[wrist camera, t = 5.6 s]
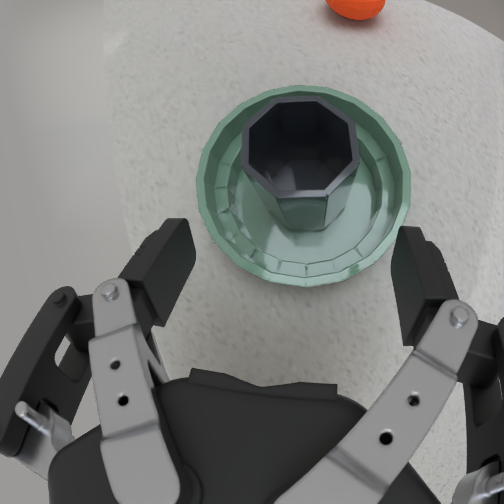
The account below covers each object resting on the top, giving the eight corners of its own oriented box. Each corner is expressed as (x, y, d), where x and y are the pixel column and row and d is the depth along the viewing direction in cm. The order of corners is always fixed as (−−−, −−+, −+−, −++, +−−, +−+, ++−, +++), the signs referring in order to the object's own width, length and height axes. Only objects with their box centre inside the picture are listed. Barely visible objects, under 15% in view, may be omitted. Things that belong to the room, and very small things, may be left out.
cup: (306, 247, 22) (302, 223, 14) (251, 195, 23) (218, 148, 15) (359, 192, 22) (381, 141, 13) (302, 144, 23) (294, 79, 15)
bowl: (306, 325, 22) (304, 335, 17) (186, 202, 25) (158, 183, 20) (424, 195, 21) (447, 174, 16) (299, 94, 24) (294, 58, 20)
